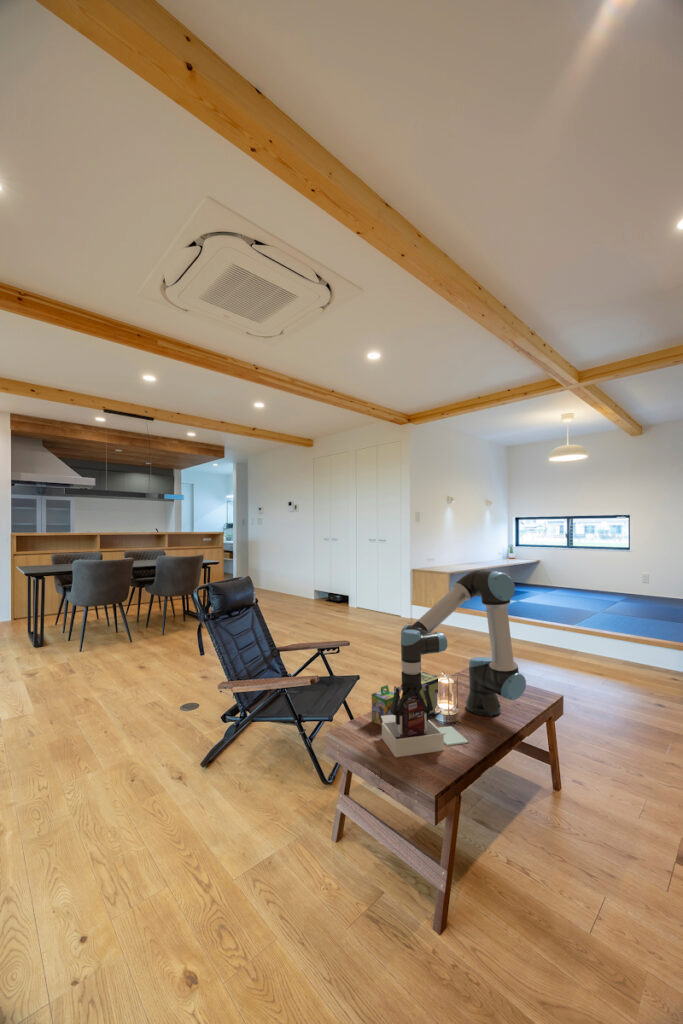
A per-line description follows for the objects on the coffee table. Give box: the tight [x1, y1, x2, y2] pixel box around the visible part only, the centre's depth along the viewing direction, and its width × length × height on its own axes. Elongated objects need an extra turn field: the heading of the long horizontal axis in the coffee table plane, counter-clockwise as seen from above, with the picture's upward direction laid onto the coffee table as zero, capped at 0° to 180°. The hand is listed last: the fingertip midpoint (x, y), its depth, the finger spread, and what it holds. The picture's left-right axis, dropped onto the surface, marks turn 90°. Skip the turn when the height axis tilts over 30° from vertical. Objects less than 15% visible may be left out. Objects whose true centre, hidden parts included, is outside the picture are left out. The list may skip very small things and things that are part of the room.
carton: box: [381, 715, 446, 758], centre depth 154 cm, size 19×20×7 cm
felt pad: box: [437, 725, 469, 747], centre depth 160 cm, size 9×13×1 cm
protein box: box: [401, 671, 438, 718], centre depth 182 cm, size 10×16×16 cm
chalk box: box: [371, 684, 401, 727], centre depth 172 cm, size 9×9×15 cm
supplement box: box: [399, 697, 425, 739], centre depth 154 cm, size 9×5×16 cm, turn 123°
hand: (412, 731), depth 154 cm, fingers closed on supplement box, 9 cm apart
